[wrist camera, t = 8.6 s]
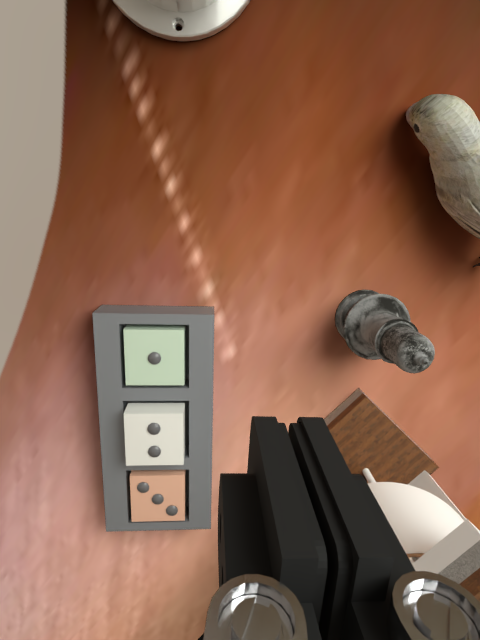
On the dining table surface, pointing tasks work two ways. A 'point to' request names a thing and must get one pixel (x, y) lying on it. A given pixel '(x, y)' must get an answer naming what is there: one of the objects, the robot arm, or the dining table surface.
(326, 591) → the robot arm
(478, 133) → the decorative bird
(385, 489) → the brown-banded white pillar
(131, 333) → the button one
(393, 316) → the grey chess piece
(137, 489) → the button three
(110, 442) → the button board
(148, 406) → the button two
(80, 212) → the dining table surface
